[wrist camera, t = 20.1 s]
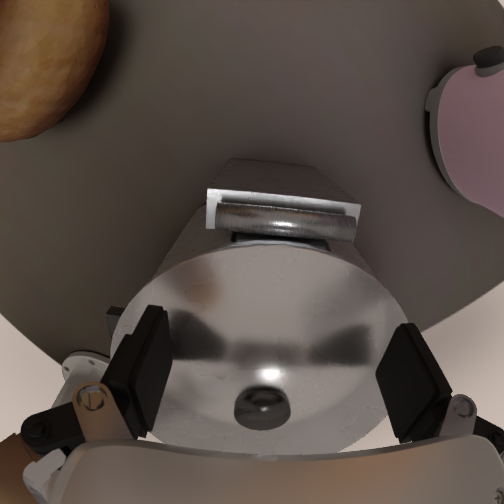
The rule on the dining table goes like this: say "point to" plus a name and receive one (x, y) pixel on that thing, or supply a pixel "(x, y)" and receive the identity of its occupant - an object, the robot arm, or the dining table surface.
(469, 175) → the blender
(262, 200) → the pot
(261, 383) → the lid
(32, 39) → the butternut squash
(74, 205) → the dining table surface
